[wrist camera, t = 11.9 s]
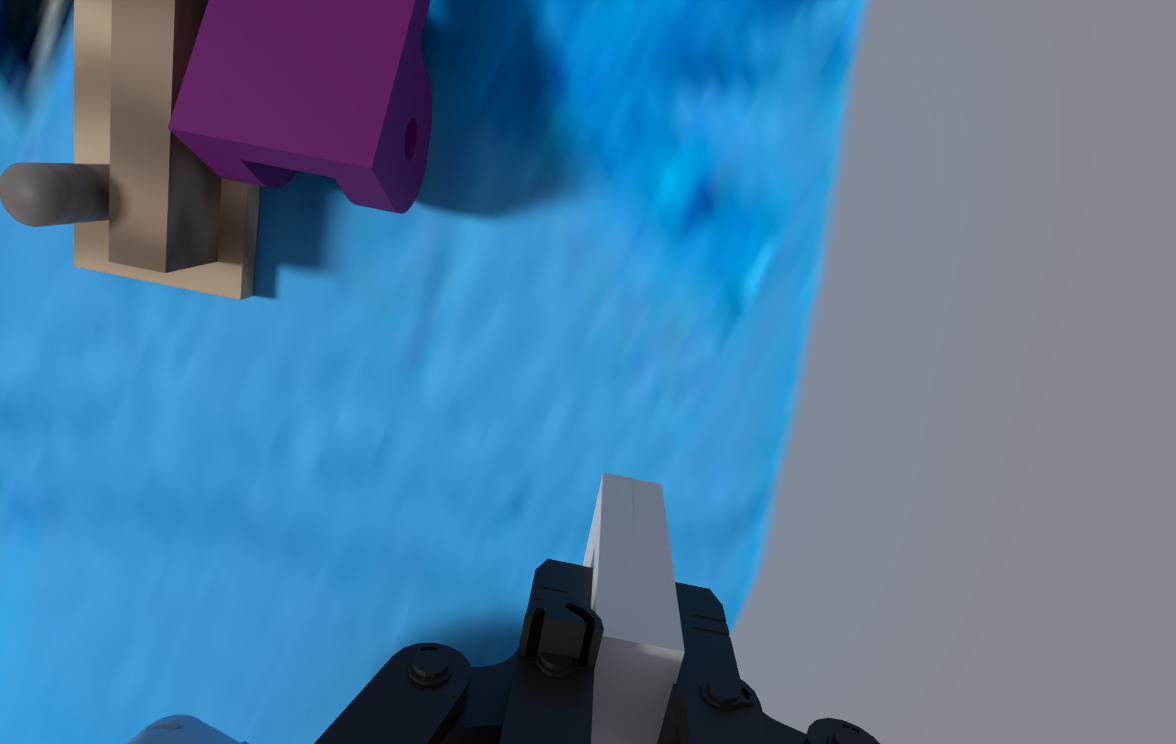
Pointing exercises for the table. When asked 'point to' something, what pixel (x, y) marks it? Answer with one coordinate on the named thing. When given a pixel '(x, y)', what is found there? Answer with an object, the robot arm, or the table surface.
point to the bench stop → (139, 160)
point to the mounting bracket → (311, 95)
